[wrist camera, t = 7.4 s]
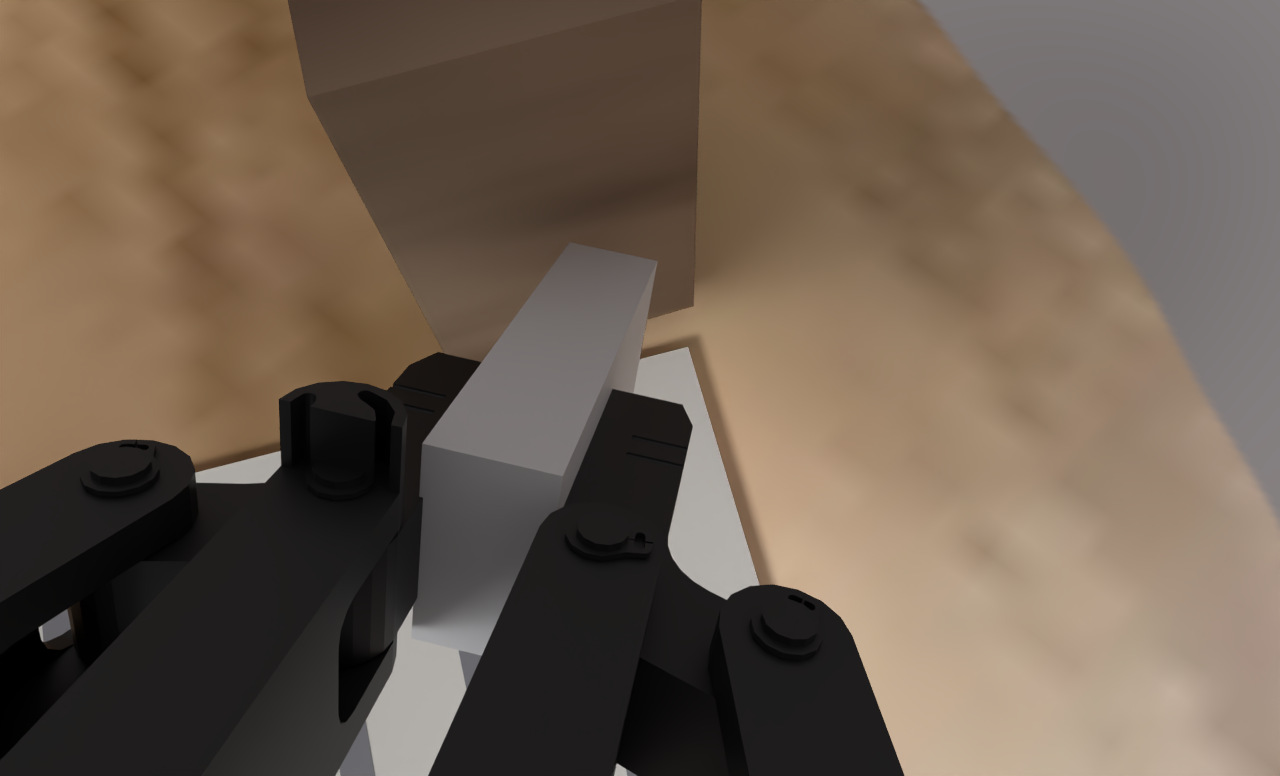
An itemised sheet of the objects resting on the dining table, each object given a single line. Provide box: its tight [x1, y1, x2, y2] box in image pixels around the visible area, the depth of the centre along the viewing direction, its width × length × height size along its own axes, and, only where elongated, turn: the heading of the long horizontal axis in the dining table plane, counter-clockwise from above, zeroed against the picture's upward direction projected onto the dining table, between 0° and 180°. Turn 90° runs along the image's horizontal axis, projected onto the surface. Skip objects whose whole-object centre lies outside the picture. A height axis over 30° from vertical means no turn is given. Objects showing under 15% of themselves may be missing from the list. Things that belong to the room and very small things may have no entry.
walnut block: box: [288, 0, 702, 362], centre depth 16 cm, size 5×5×8 cm
